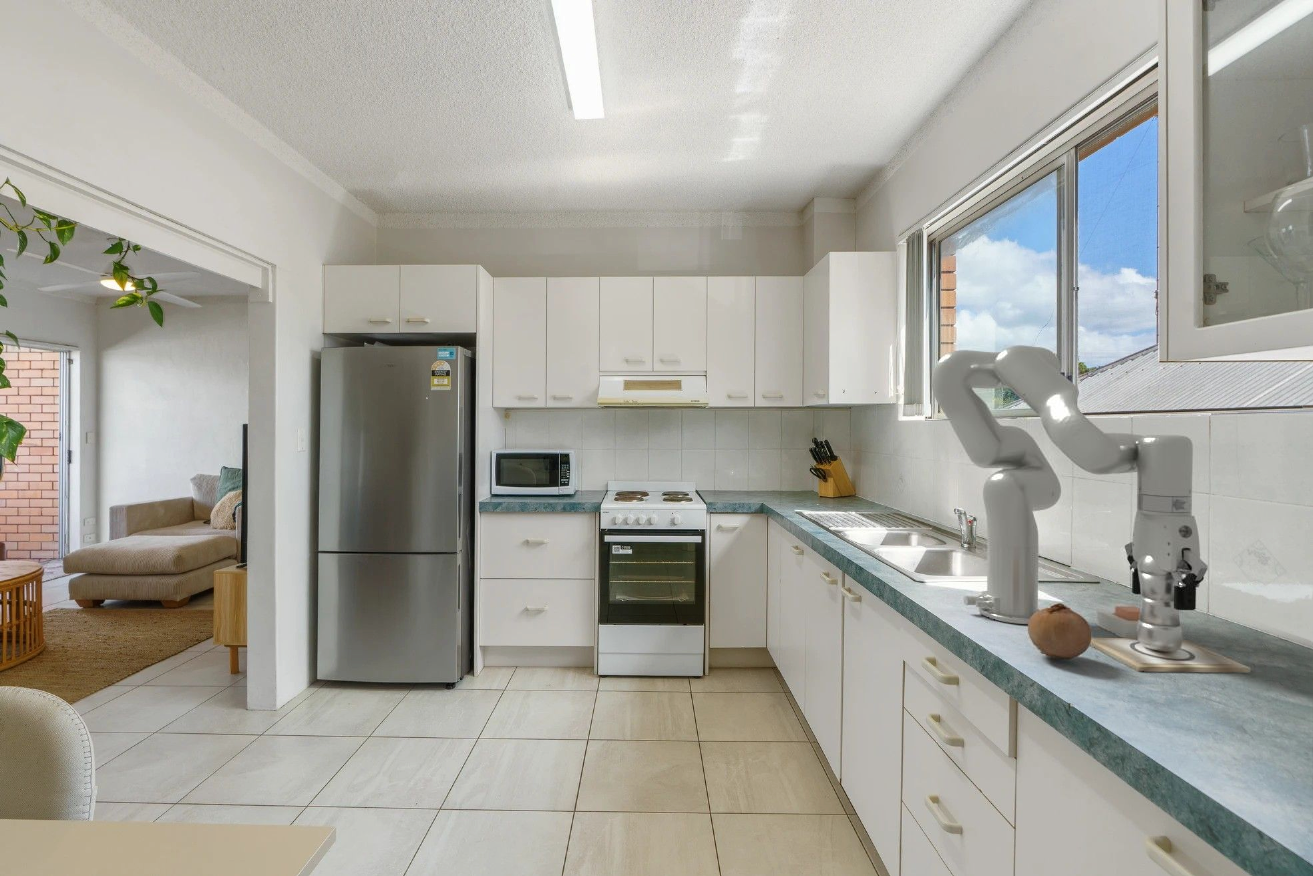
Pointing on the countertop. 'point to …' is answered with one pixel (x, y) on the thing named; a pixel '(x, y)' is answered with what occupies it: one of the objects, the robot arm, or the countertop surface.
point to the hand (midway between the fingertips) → (1162, 601)
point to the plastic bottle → (1157, 608)
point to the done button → (1128, 612)
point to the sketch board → (1166, 657)
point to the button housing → (1117, 624)
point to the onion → (1059, 632)
